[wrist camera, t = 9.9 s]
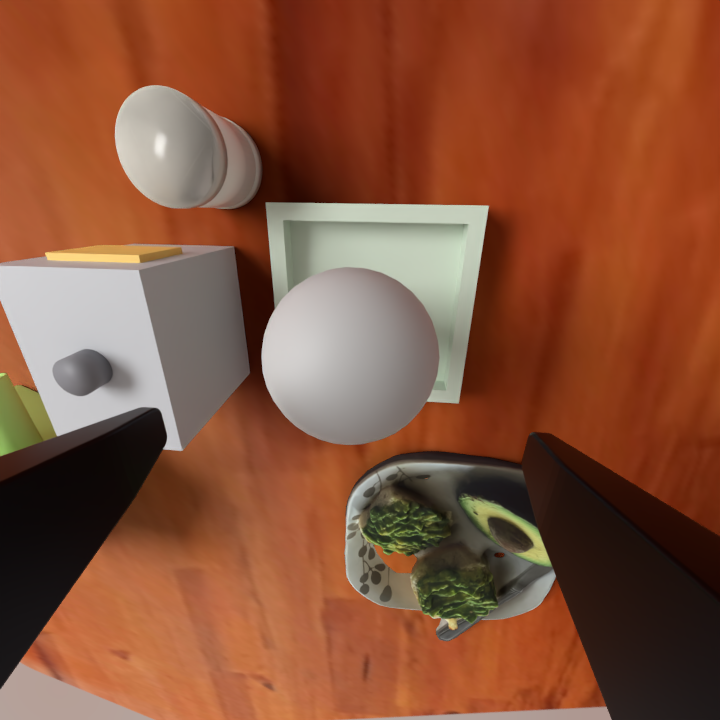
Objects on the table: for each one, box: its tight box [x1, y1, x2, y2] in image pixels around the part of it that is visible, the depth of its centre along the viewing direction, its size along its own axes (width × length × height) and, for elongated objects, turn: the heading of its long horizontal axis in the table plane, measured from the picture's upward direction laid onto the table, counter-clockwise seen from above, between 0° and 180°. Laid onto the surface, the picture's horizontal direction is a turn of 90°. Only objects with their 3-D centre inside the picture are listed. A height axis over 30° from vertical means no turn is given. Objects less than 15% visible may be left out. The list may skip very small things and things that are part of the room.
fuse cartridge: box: [115, 85, 262, 209], centre depth 16 cm, size 4×4×5 cm
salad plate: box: [344, 451, 556, 641], centre depth 26 cm, size 19×18×5 cm
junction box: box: [0, 244, 250, 451], centre depth 17 cm, size 6×9×9 cm
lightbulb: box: [261, 267, 440, 445], centre depth 15 cm, size 6×6×11 cm
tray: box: [266, 202, 489, 403], centre depth 19 cm, size 11×11×2 cm
